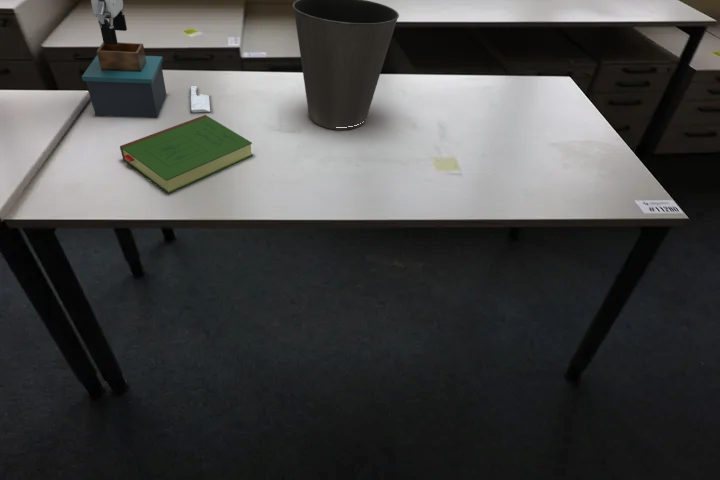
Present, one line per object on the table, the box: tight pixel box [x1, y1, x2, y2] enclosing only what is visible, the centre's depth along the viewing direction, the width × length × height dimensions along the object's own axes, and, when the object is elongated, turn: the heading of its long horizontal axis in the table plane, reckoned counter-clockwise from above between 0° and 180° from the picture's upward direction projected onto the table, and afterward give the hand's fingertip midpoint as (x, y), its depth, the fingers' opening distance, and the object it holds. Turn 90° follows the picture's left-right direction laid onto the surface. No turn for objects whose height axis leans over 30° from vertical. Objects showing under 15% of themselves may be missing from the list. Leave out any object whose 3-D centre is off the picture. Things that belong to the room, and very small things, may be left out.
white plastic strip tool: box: [190, 85, 211, 113], centre depth 149 cm, size 5×15×1 cm, turn 14°
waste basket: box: [292, 0, 400, 131], centre depth 140 cm, size 27×20×30 cm
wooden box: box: [96, 41, 146, 72], centre depth 135 cm, size 10×6×5 cm, turn 96°
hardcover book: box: [119, 114, 254, 194], centre depth 126 cm, size 25×19×4 cm
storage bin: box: [81, 54, 167, 119], centre depth 141 cm, size 17×15×11 cm
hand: (115, 36), depth 132 cm, fingers open, 9 cm apart
